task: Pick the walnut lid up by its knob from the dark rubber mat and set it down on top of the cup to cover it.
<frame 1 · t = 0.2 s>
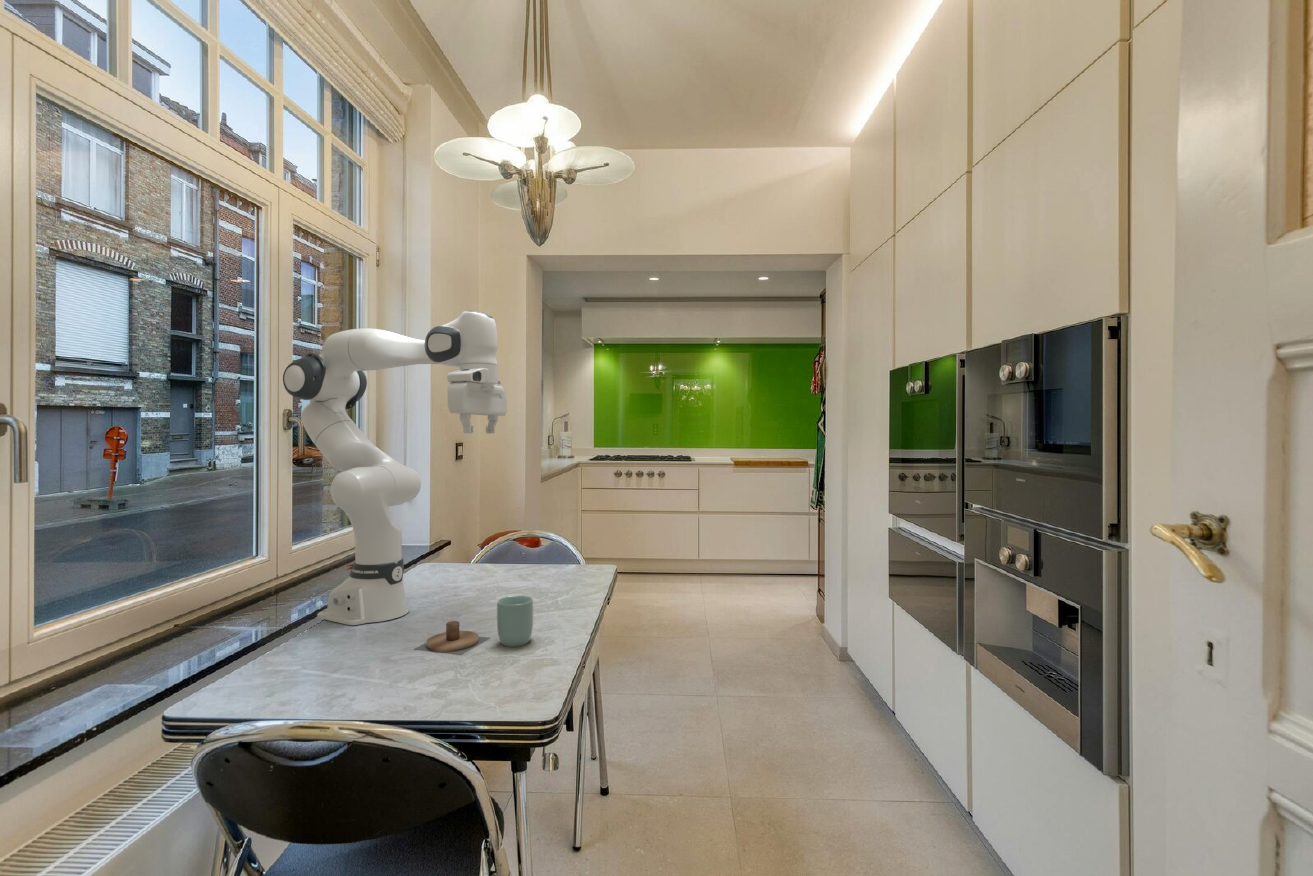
hand: (479, 433, 145), 47 cm above the table, fingers open, 8 cm apart
mat: (452, 646, 131), on the table
lid: (452, 643, 131), point 1 cm above the table, touching mat
cup: (515, 645, 131), on the table
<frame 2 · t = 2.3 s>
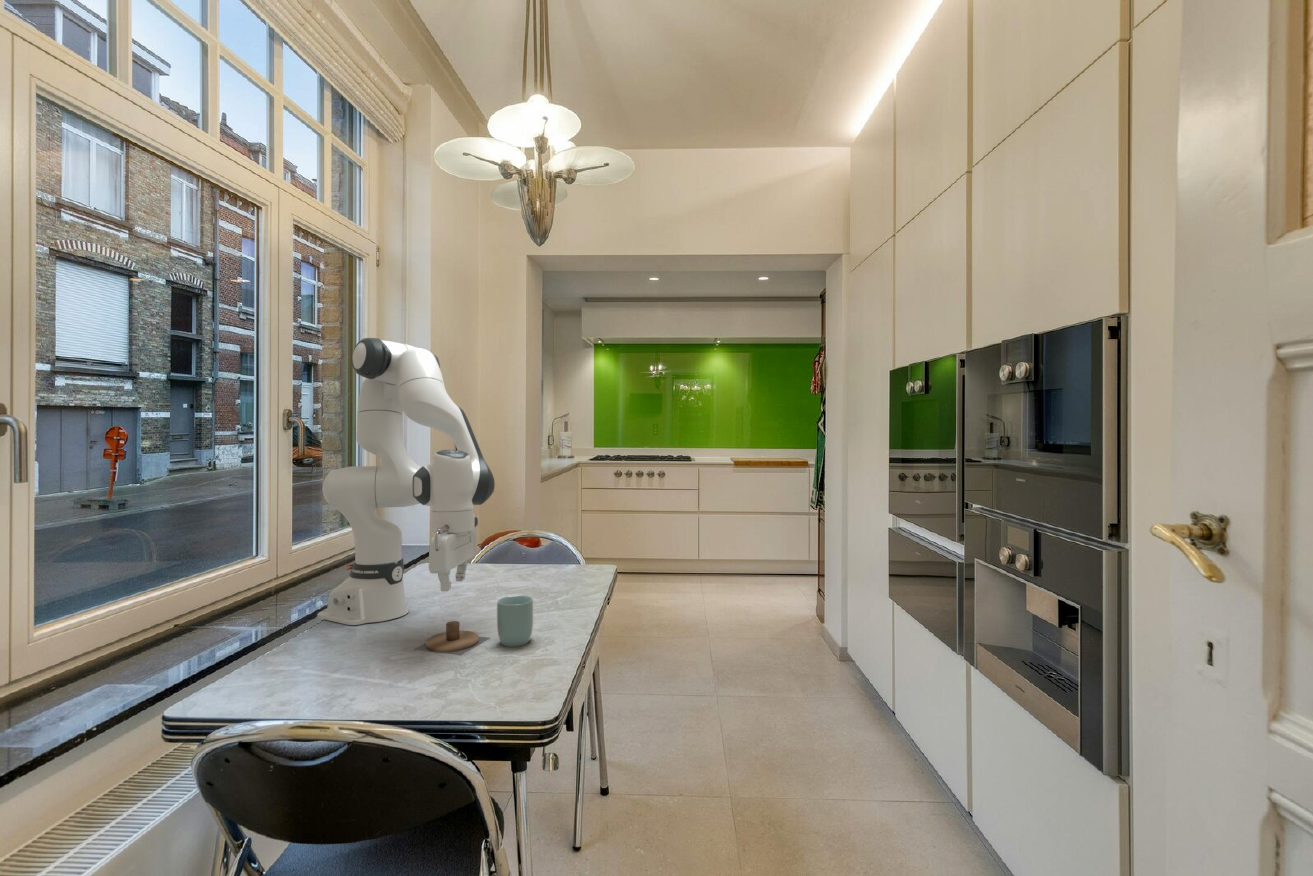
hand: (453, 585, 131), 13 cm above the table, fingers open, 8 cm apart
nothing on the table moved.
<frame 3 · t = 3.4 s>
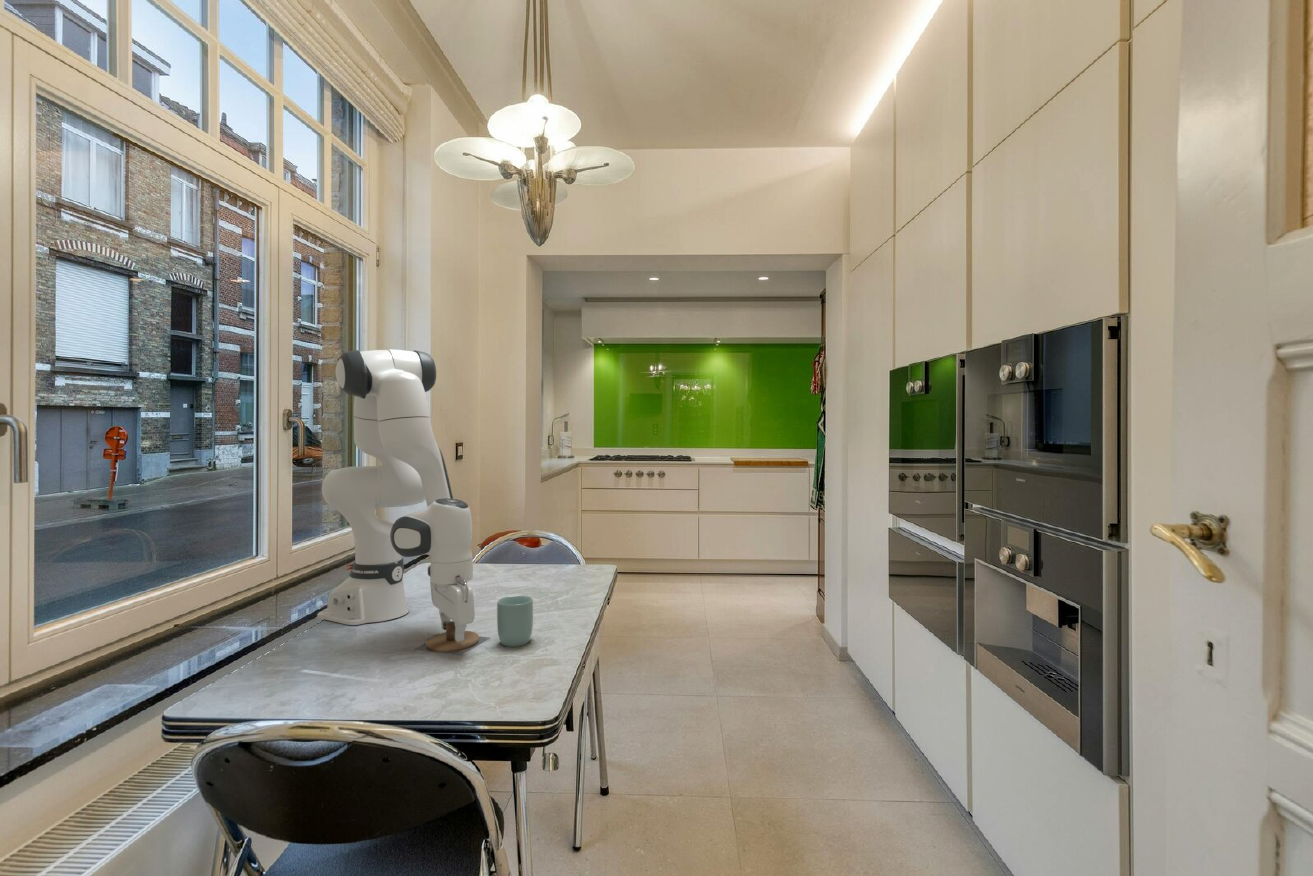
hand: (452, 634, 131), 3 cm above the table, fingers open, 8 cm apart
nothing on the table moved.
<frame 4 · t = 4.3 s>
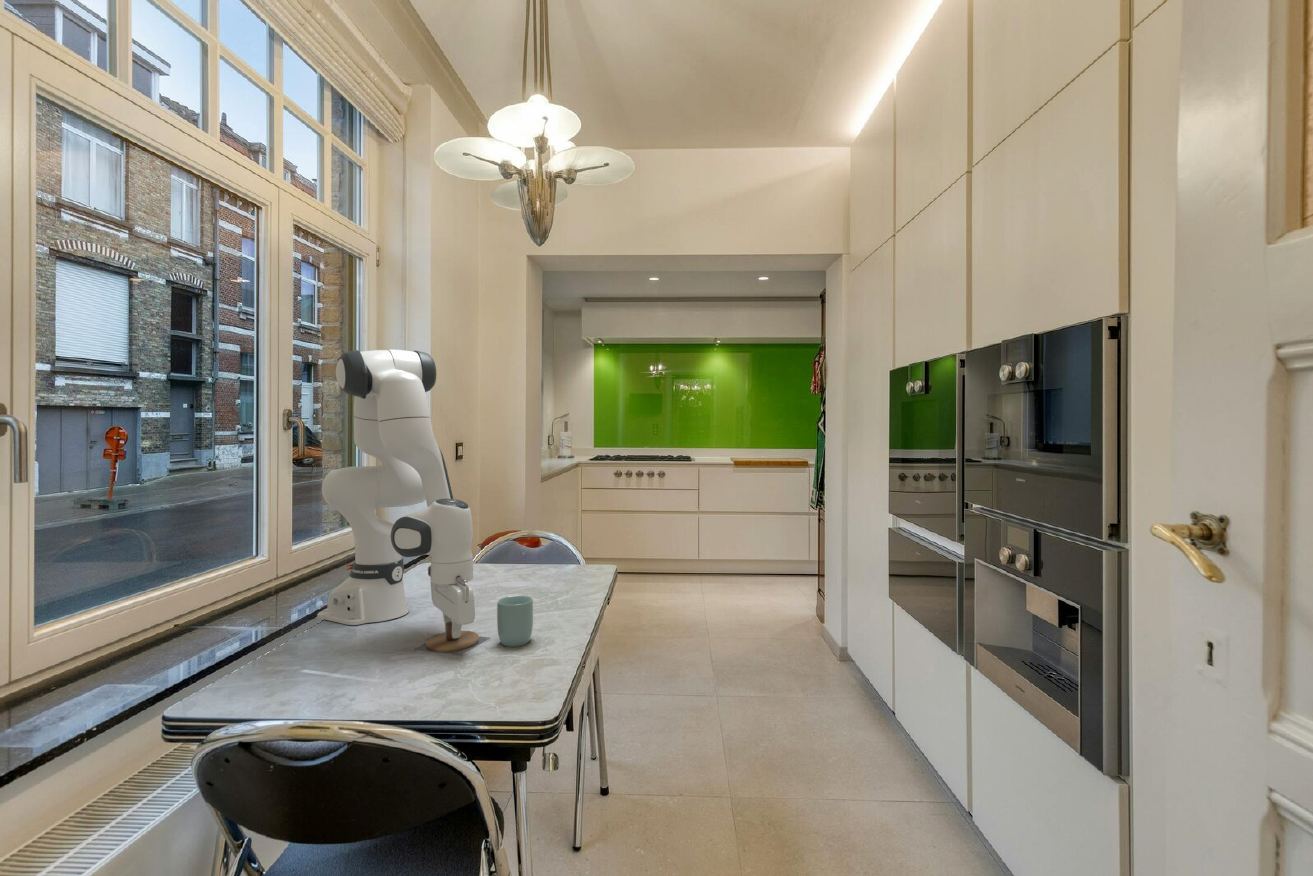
hand: (452, 634, 131), 2 cm above the table, fingers closed on lid, 3 cm apart
lid: (452, 643, 131), point 1 cm above the table, touching gripper, mat
everything else where it was.
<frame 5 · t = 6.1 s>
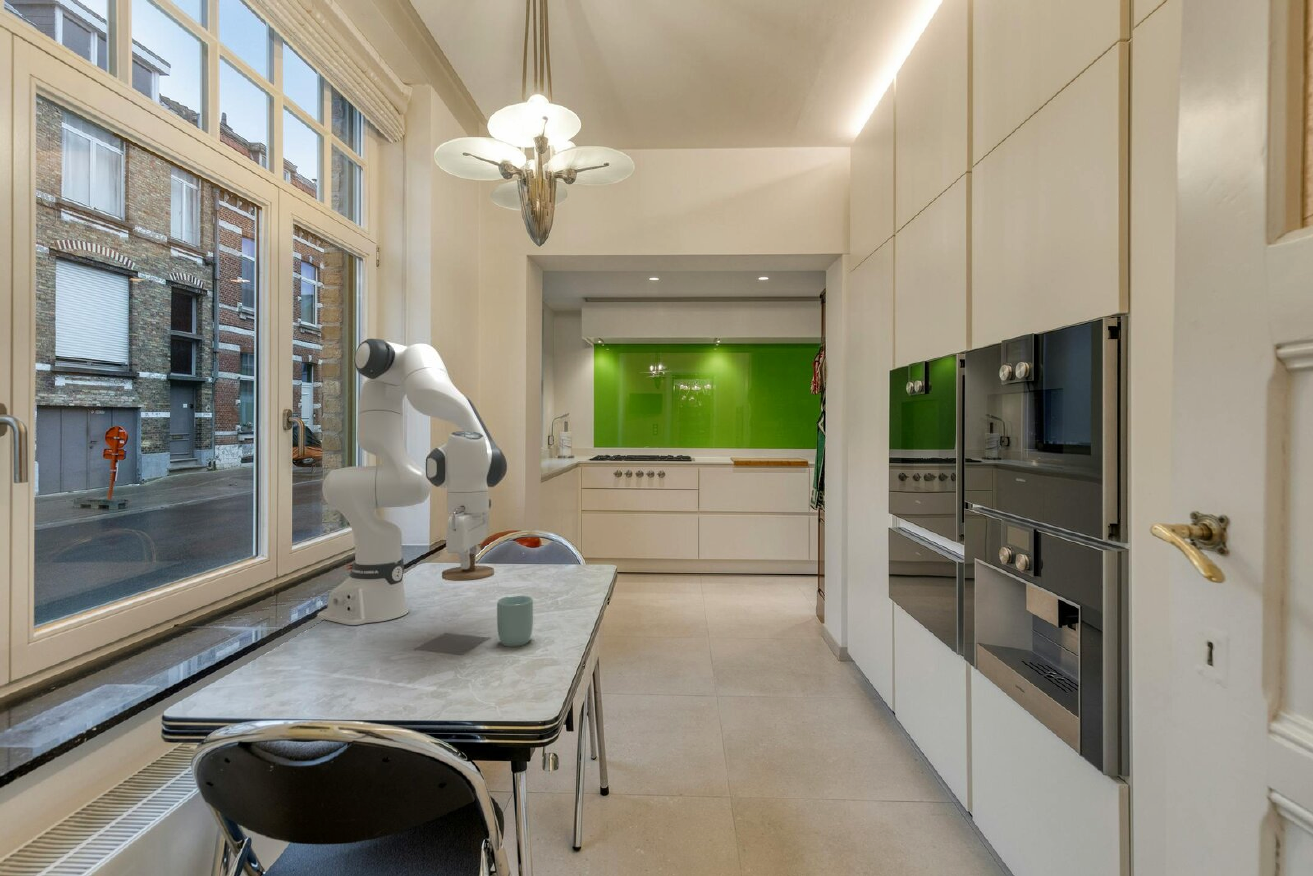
hand: (468, 566, 131), 18 cm above the table, fingers closed on lid, 3 cm apart
lid: (468, 575, 131), point 16 cm above the table, touching gripper
everything else where it was.
when the fingers open (13 cm above the table, at t = 7.9 s): lid drops 1 cm, resting on cup.
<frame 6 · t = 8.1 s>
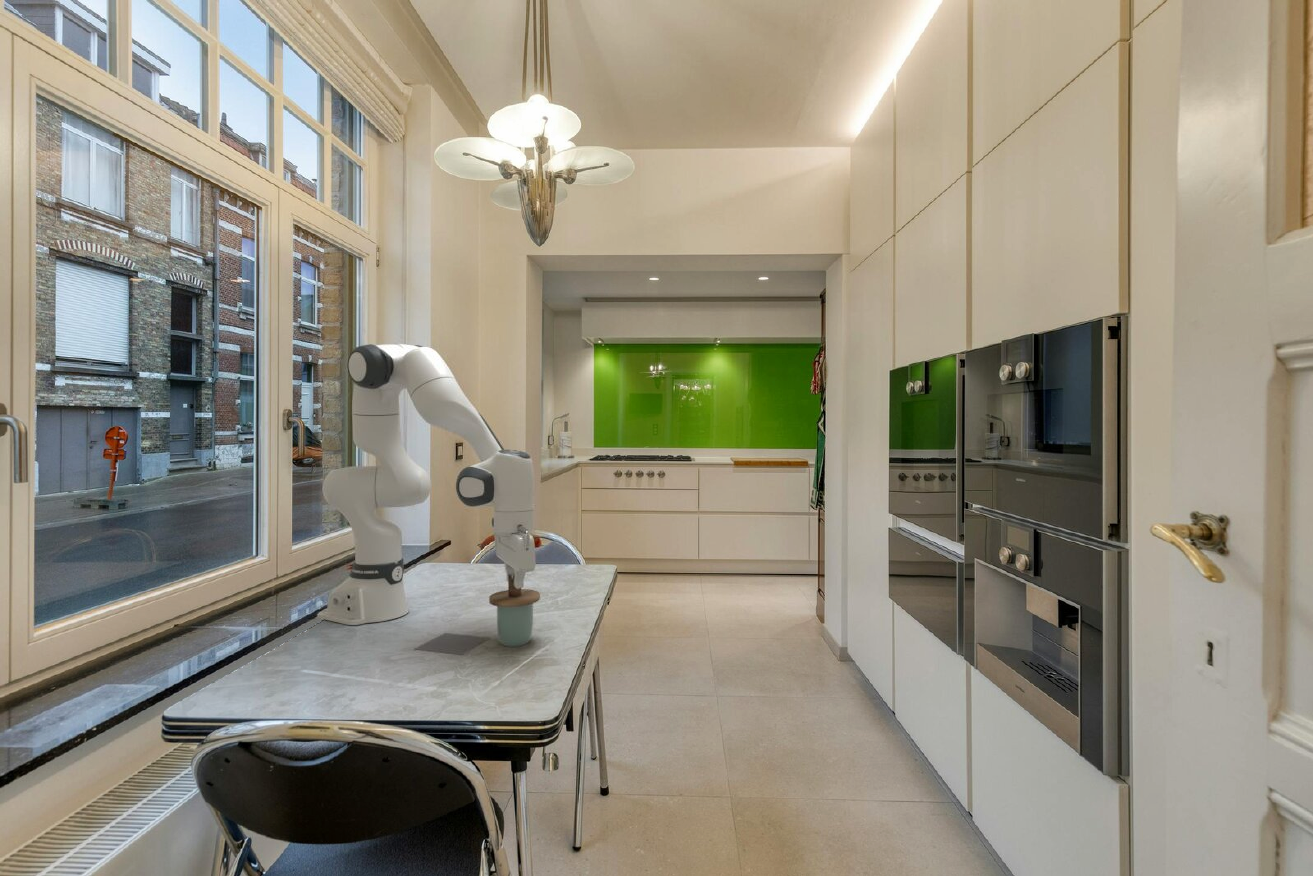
hand: (514, 584, 131), 13 cm above the table, fingers open, 5 cm apart
lid: (514, 599, 131), point 10 cm above the table, touching cup
cup: (515, 645, 131), on the table, touching lid
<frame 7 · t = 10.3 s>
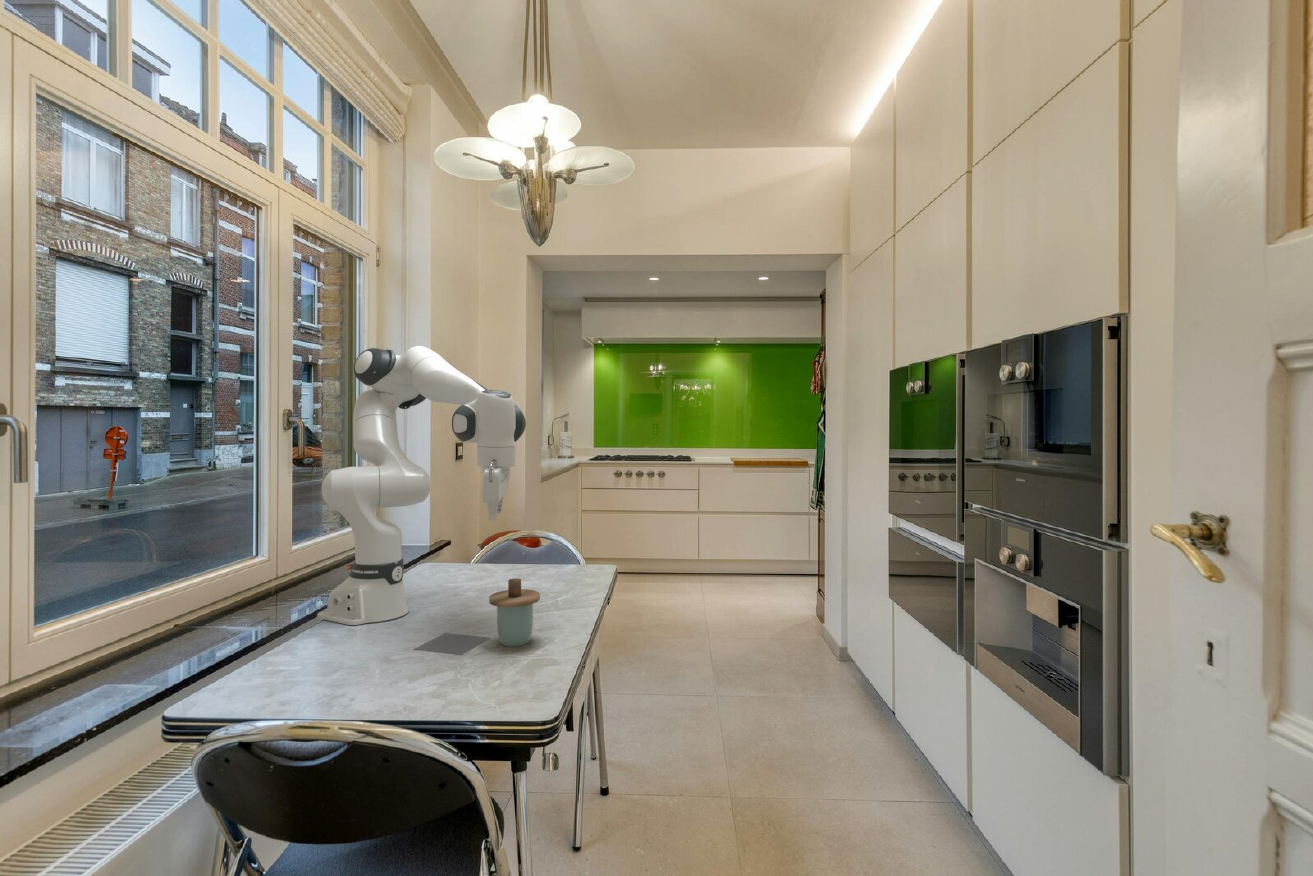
hand: (495, 516, 141), 27 cm above the table, fingers open, 8 cm apart
nothing on the table moved.
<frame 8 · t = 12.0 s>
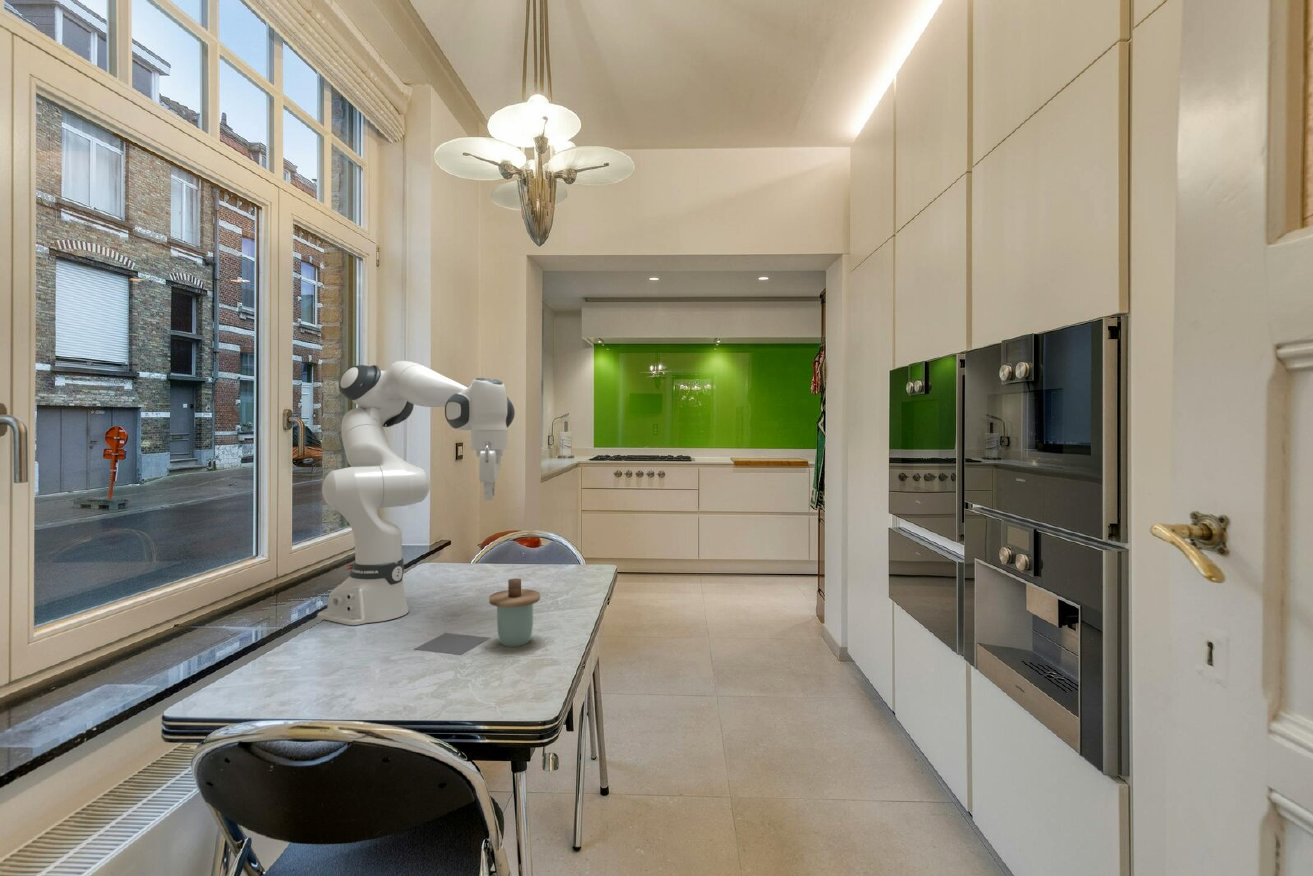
hand: (489, 498, 147), 31 cm above the table, fingers open, 8 cm apart
nothing on the table moved.
at the end: lid 0.1 cm off-centre on the cup, point 10.2 cm above the cup's base; lid tilted 0°; the gripper is holding nothing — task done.
